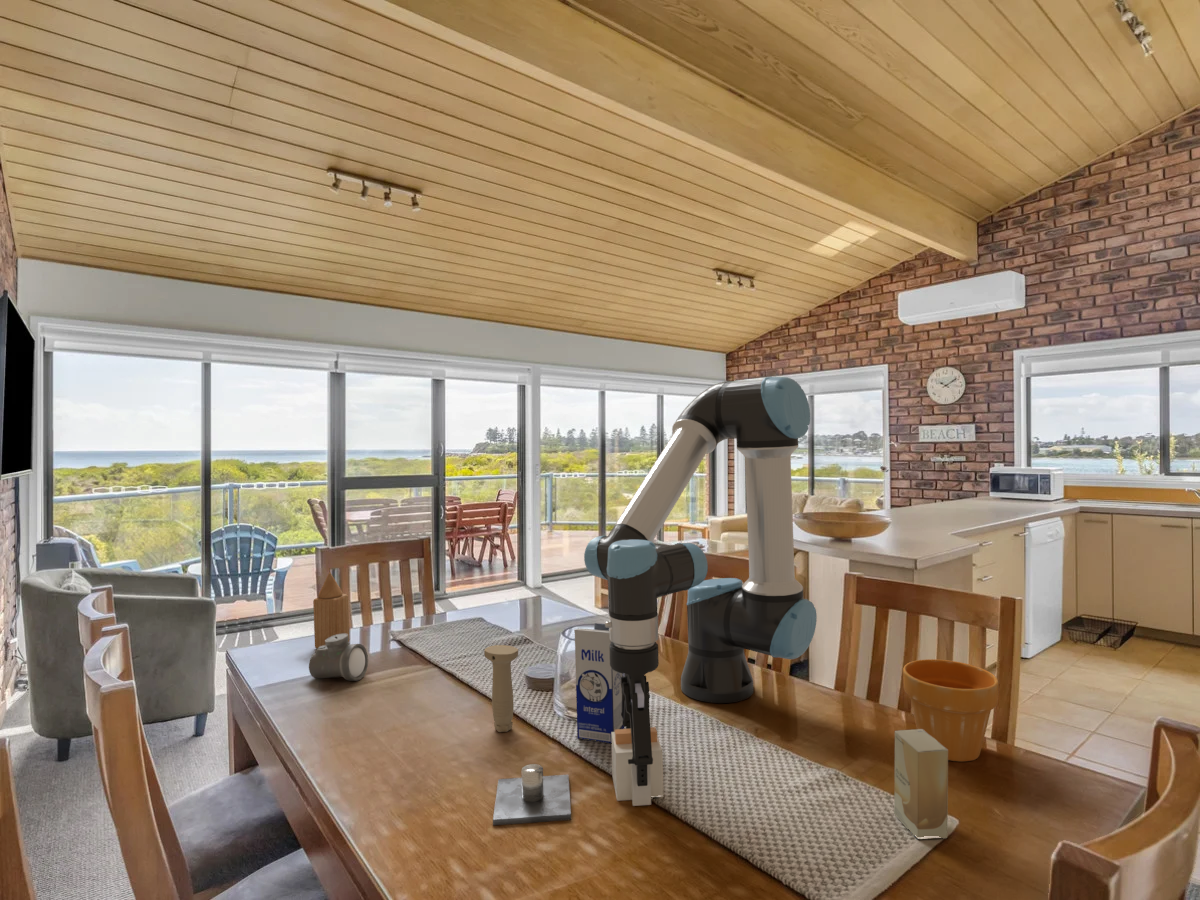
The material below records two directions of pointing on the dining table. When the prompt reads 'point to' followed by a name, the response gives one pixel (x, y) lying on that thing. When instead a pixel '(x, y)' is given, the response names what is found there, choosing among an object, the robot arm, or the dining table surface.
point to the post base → (532, 809)
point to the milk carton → (596, 686)
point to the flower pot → (951, 703)
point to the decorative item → (330, 612)
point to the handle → (502, 685)
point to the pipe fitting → (339, 659)
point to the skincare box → (921, 783)
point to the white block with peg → (623, 769)
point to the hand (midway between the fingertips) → (636, 785)
